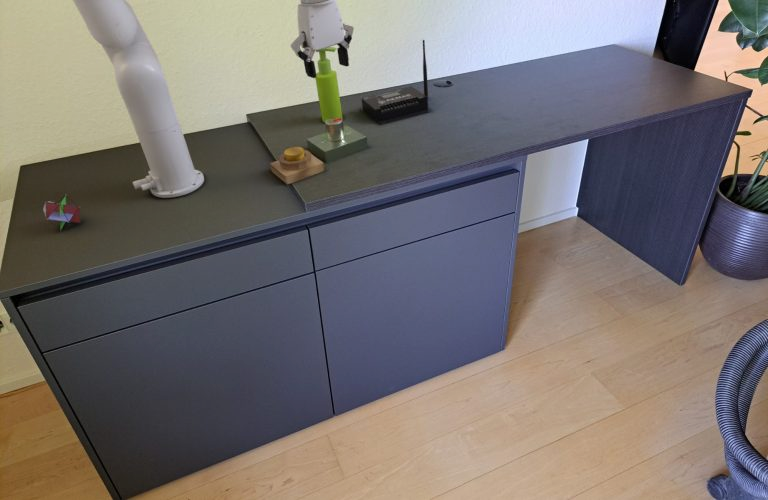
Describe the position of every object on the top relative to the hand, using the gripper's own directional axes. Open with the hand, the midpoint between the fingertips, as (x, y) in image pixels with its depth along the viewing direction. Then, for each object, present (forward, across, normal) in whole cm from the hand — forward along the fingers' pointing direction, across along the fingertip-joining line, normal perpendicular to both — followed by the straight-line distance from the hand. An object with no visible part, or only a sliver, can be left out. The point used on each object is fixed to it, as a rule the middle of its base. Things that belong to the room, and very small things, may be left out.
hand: (328, 71), depth 135 cm
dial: (+16, +2, +2) cm, 16 cm away
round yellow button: (+15, +16, +5) cm, 23 cm away
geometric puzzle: (+18, +65, -14) cm, 69 cm away
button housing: (+19, +16, +5) cm, 25 cm away
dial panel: (+19, +2, +2) cm, 19 cm away
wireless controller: (+19, -26, -4) cm, 32 cm away
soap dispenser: (+19, -9, -14) cm, 25 cm away
